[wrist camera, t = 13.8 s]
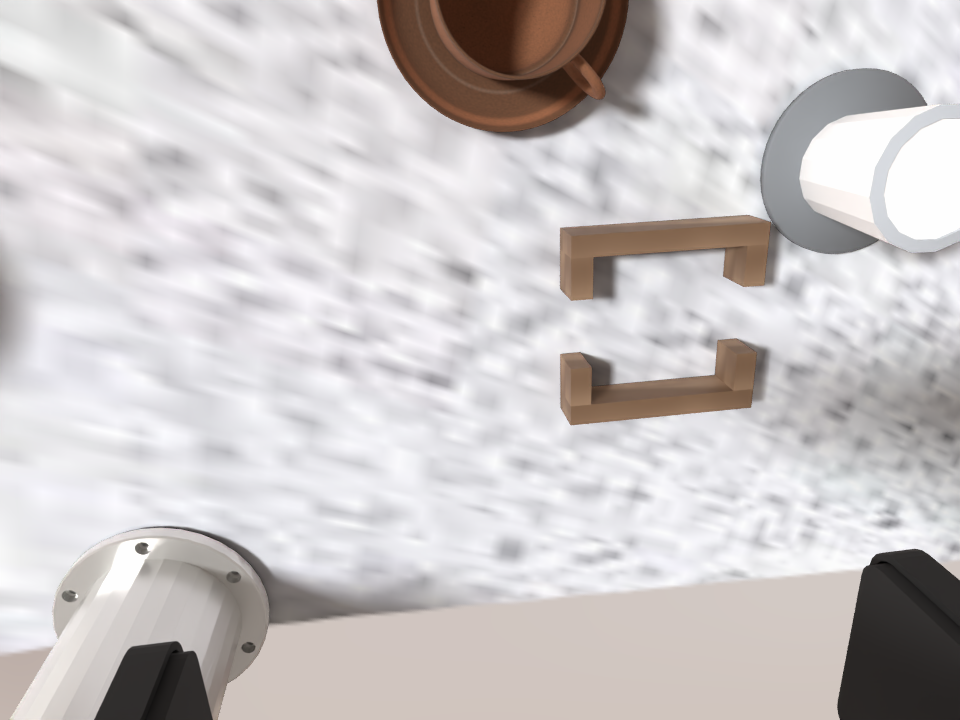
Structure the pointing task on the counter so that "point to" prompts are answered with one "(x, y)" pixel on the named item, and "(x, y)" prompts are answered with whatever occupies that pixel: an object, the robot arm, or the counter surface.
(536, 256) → the counter surface
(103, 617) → the robot arm
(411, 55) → the cup and saucer
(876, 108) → the coaster
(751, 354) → the pocket
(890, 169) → the white cylinder
